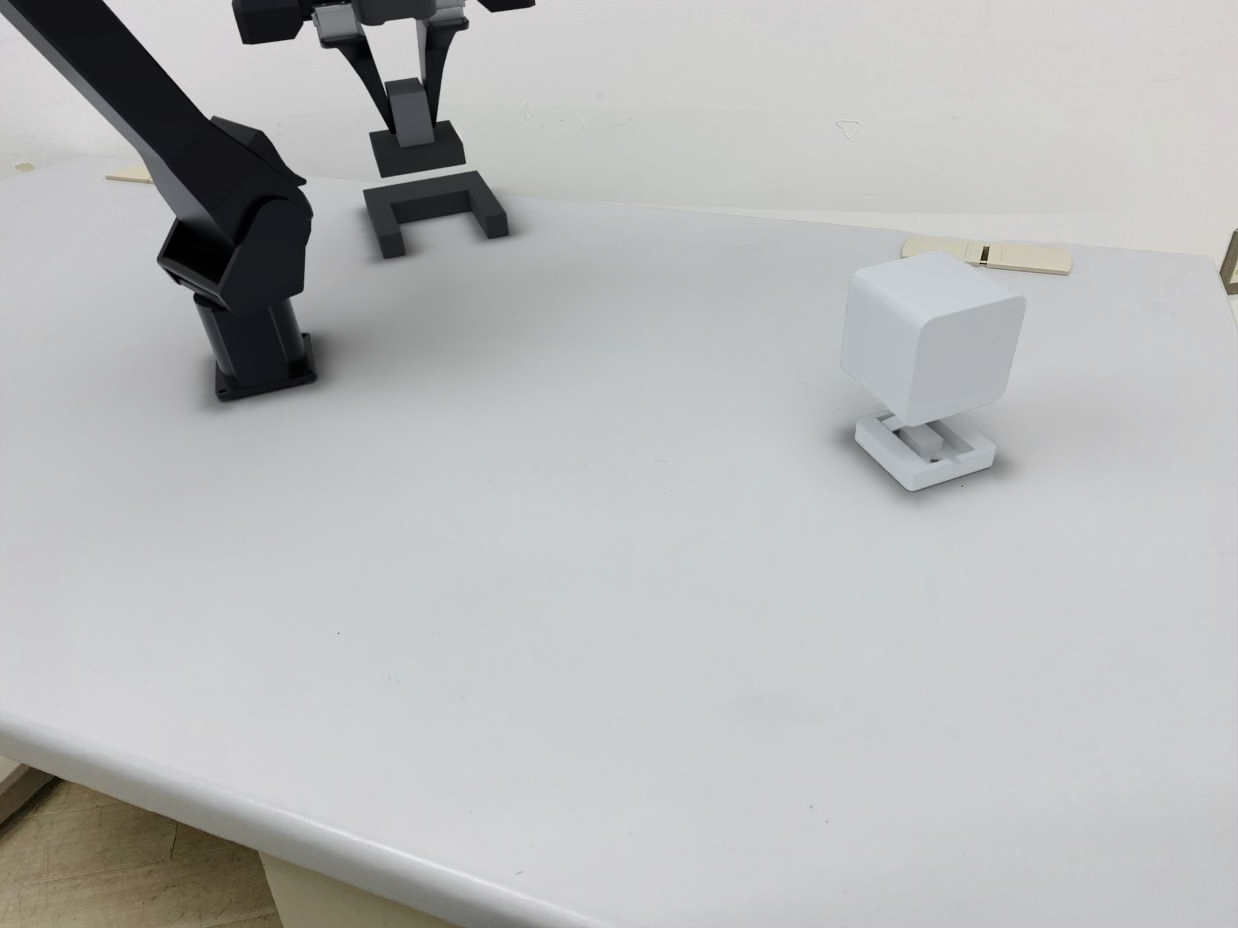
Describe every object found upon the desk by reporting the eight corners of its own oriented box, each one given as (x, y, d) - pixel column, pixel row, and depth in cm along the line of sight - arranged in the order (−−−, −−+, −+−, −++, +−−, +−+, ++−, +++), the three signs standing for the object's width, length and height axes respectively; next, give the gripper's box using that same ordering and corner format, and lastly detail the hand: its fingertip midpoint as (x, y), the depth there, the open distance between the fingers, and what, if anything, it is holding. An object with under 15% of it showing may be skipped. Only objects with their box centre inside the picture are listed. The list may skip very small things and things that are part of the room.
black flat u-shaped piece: (509, 234, 78) (506, 212, 77) (383, 258, 75) (378, 236, 74) (480, 190, 87) (477, 170, 86) (367, 210, 85) (362, 189, 83)
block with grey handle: (466, 164, 63) (454, 90, 60) (381, 179, 62) (363, 104, 58) (453, 139, 67) (440, 69, 64) (373, 152, 66) (356, 82, 63)
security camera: (922, 400, 54) (950, 246, 48) (1000, 463, 49) (1042, 299, 43) (831, 426, 53) (848, 270, 47) (902, 494, 47) (932, 329, 41)
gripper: (188, -106, 46) (279, 190, 55) (541, -141, 49) (568, 142, 59) (200, -121, 54) (277, 138, 64) (500, -150, 58) (530, 99, 67)
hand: (412, 130), depth 63 cm, fingers closed on block with grey handle, 2 cm apart
